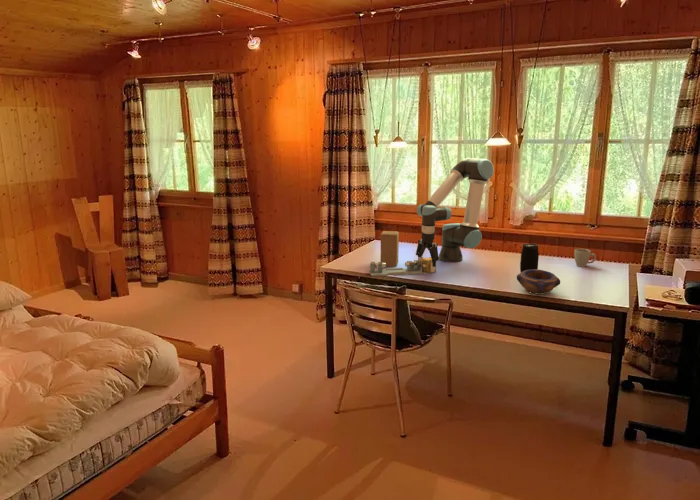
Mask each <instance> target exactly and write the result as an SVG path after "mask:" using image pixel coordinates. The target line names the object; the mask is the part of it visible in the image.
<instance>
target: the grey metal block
mask: <svg viewBox="0 0 700 500" xmlns="http://www.w3.org/2000/svg"><path fill="white" fill-rule="evenodd" d="M404 266H405V267H406V269H407V270H408V271H410V272H411V271H414V269H415V270H417V271H420V270H421V262H420V261H418V259H415V260H413V261H412V260H407V261H406V262H404Z"/></svg>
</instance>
